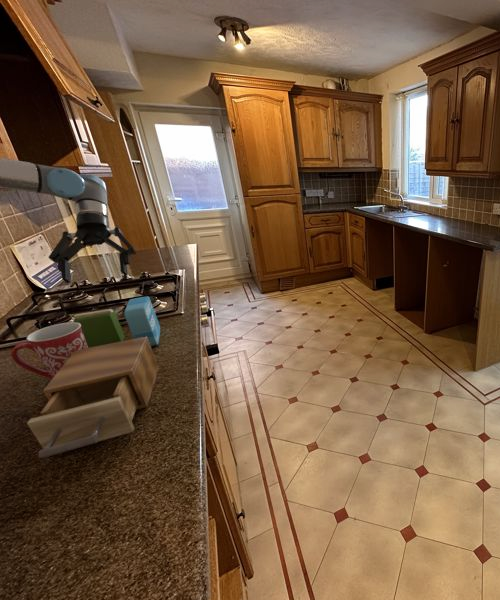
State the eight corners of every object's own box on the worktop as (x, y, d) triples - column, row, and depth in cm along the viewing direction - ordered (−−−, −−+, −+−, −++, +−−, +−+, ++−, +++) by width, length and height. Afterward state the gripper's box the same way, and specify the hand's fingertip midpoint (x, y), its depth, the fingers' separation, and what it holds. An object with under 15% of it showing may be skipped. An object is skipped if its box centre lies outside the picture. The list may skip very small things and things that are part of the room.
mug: (107, 364, 85) (86, 318, 79) (97, 383, 77) (73, 334, 72) (42, 378, 79) (14, 331, 74) (24, 401, 72) (-7, 349, 67)
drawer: (125, 455, 57) (108, 422, 54) (30, 485, 52) (6, 450, 49) (148, 388, 74) (136, 359, 71) (78, 405, 69) (62, 375, 66)
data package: (158, 346, 92) (144, 309, 87) (138, 351, 90) (123, 313, 85) (161, 329, 102) (148, 294, 97) (143, 333, 100) (130, 297, 95)
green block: (91, 343, 95) (77, 312, 91) (125, 336, 98) (112, 306, 94) (86, 349, 91) (71, 318, 87) (121, 342, 95) (108, 312, 91)
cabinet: (147, 407, 70) (131, 370, 66) (64, 429, 64) (42, 390, 60) (159, 368, 83) (146, 336, 79) (91, 384, 77) (74, 350, 73)
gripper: (144, 222, 111) (150, 275, 105) (48, 229, 101) (48, 289, 95) (135, 208, 105) (141, 264, 98) (31, 214, 94) (31, 278, 88)
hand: (96, 277), depth 97 cm, fingers open, 13 cm apart
